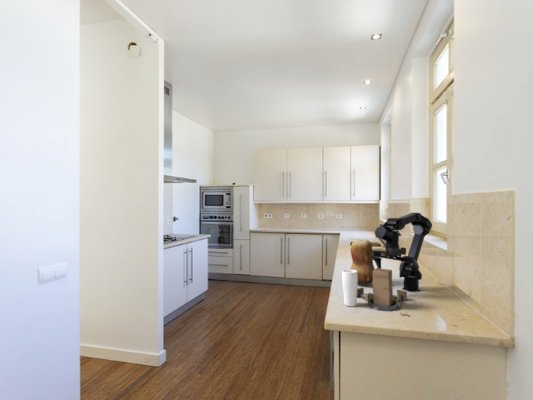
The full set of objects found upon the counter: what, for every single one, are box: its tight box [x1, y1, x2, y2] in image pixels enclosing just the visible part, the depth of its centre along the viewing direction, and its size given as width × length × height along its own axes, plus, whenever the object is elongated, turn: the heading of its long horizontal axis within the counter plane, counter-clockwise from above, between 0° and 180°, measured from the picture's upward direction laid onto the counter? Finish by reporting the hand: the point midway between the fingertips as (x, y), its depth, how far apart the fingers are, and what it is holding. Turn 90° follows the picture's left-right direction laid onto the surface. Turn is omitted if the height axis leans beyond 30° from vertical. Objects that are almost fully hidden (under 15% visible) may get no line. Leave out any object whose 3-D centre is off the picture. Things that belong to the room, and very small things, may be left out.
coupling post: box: [372, 268, 394, 306], centre depth 131 cm, size 6×6×15 cm
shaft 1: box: [357, 287, 373, 303], centre depth 141 cm, size 8×4×4 cm, turn 24°
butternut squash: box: [350, 239, 376, 286], centre depth 166 cm, size 14×13×25 cm
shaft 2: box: [393, 289, 408, 304], centre depth 137 cm, size 8×4×4 cm, turn 124°
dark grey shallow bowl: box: [366, 298, 400, 312], centre depth 131 cm, size 13×13×2 cm
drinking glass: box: [341, 269, 359, 307], centre depth 133 cm, size 7×7×15 cm
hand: (390, 275), depth 141 cm, fingers open, 9 cm apart
